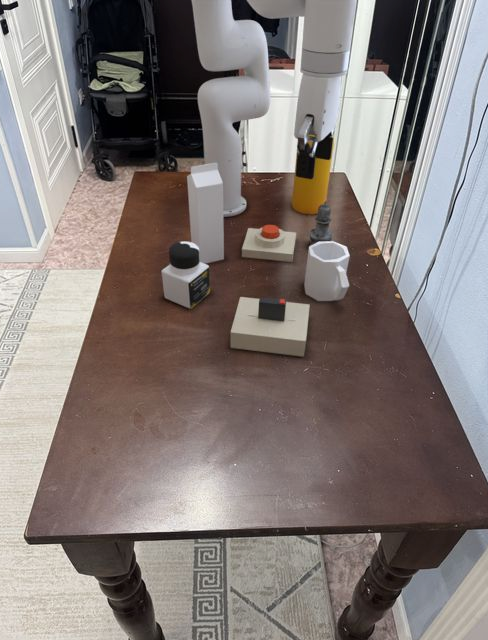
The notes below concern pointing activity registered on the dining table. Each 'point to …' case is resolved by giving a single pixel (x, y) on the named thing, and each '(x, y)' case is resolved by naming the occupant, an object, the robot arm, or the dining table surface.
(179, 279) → the medicine bottle
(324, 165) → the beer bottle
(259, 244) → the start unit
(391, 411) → the dining table surface
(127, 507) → the dining table surface
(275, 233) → the button
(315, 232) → the gray chess piece
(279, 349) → the beige flat block
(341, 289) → the mug
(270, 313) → the knob
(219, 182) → the milk
